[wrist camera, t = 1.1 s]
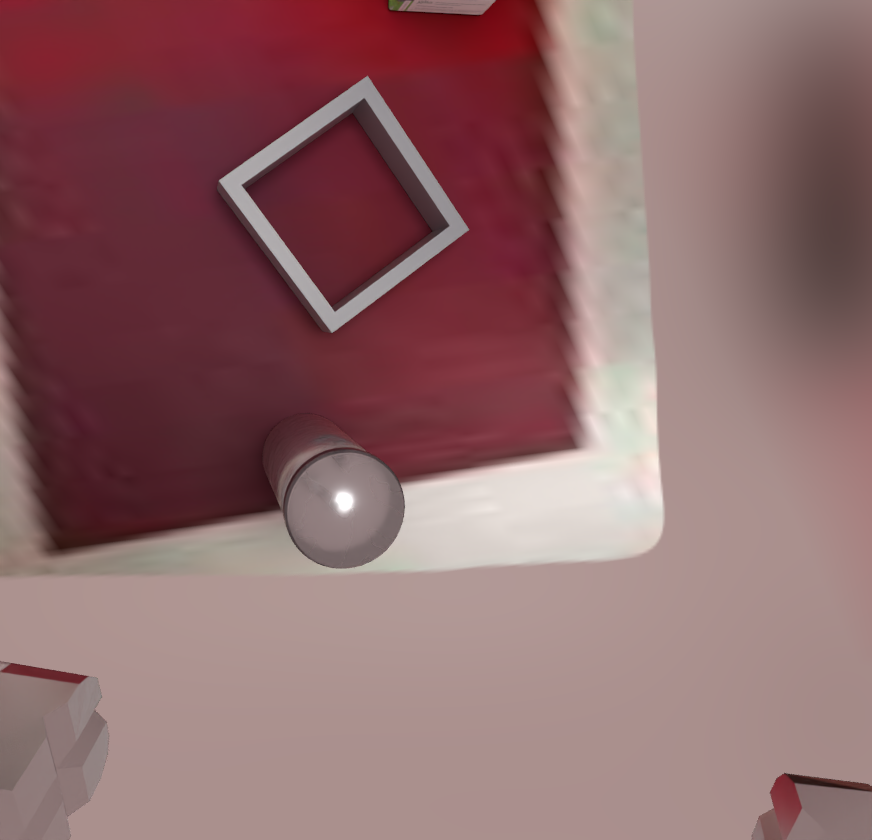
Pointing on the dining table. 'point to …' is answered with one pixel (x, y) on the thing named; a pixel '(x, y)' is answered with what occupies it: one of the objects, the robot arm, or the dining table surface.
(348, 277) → the dining table surface
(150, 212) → the dining table surface
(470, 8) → the syrup box
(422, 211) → the socket
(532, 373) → the dining table surface
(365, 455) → the tube
